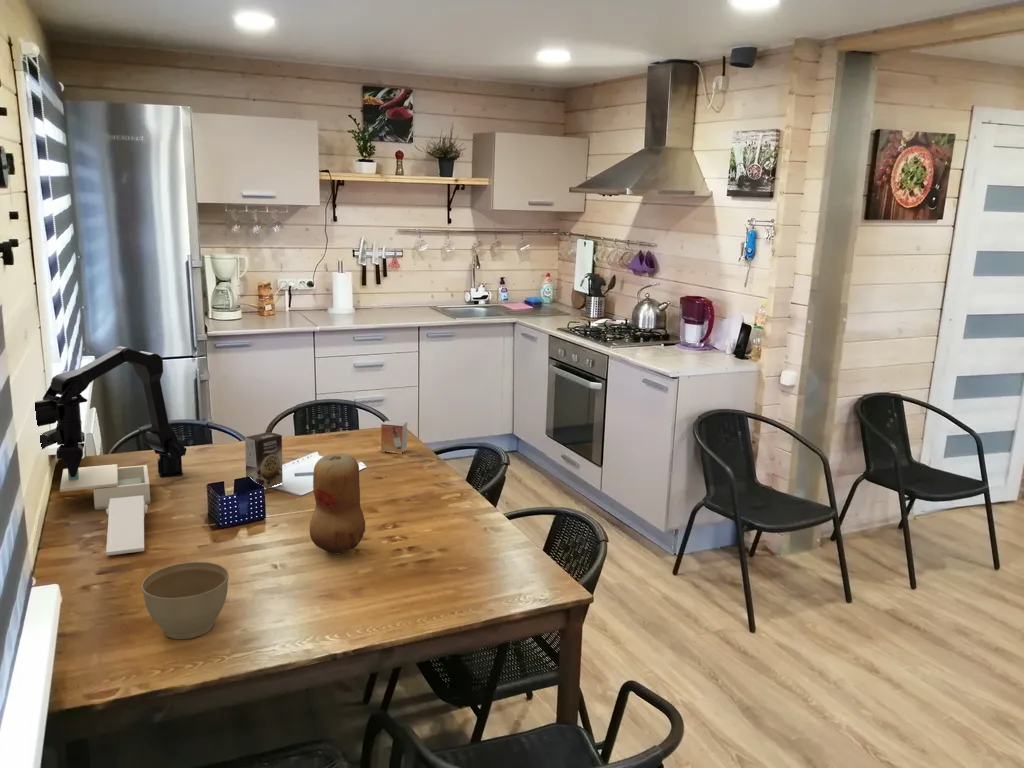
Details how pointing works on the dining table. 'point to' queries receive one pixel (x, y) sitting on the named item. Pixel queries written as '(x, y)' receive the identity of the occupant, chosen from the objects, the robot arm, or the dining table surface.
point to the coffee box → (264, 458)
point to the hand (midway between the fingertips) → (73, 473)
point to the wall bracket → (126, 525)
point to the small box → (393, 436)
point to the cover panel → (90, 478)
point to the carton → (124, 486)
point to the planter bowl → (186, 597)
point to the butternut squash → (337, 504)
